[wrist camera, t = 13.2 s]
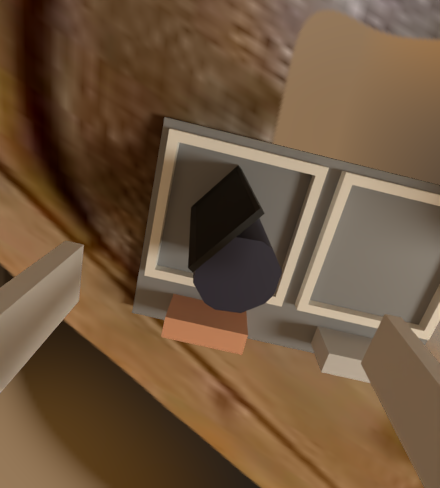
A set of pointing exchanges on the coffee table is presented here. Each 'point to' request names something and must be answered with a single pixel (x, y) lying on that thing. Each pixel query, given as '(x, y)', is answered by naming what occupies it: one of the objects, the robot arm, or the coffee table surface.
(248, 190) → the speaker
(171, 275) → the dock board
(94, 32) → the coffee table surface
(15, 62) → the coffee table surface
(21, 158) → the coffee table surface
